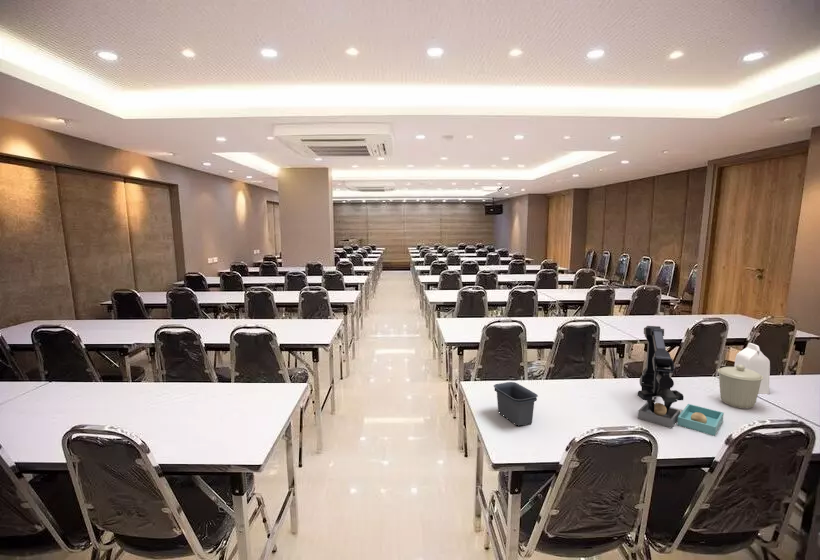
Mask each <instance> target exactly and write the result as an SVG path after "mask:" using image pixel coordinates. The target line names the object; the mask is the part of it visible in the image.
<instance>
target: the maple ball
mask: <svg viewBox="0 0 820 560" xmlns="http://www.w3.org/2000/svg"><path fill="white" fill-rule="evenodd" d="M666 412H667V409H666V407H665V406H664V404H663V403H661V402H655V404H654V414H656V415H659V416H664V415H665V414H666Z"/></svg>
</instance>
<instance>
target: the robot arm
mask: <svg viewBox="0 0 820 560" xmlns="http://www.w3.org/2000/svg"><path fill="white" fill-rule="evenodd" d="M643 334H644V337H645V339H646V341H647V351H646V365H645V366H646V367H645V368H644V369H643V370H642V372H641V373H642V374H641V375H640V377H639V386H640V387H641V390H638V391H637V396H638V398H640V399H641V400H642V401H645V402H648V404H649V407H650V409H651V412H652V413H654V403H657V402H656V400H655V399H657V398H661V399H662V401H663V403H664V404H663V405H664V406H665V407H666V409H667V412H668V410H669V408H670V407H672V404H674V403H675V402H678V401H684V400H685V399H684V394H683V393H681V392H680V391H679V390H677V389H674V390H672V389H671V388H673V387H674V385H675V382H674V379H673V378H672V376H671V377H670V373H671V374H675V373H674V372H675V369H676V368H675V364H674V363H675V362H674V360H673V358H672V357H671V354H670V353H669V352H668V351H667V350H666V344H665V340H664V337H665V328H662V327H661V326H659V325H658V326H656V325H646V327H643ZM669 367H670V368H671V369H667V368H669ZM667 412H666V413H667Z"/></svg>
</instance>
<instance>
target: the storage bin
mask: <svg viewBox="0 0 820 560" xmlns="http://www.w3.org/2000/svg"><path fill="white" fill-rule="evenodd" d="M493 388H494V392H496V400H497V412H500V413H501V414H502V415H504V416H505V417H506V418H508V419H509V420H510V421H509V420H508V419H507V420H508V421H509V422H511V421H512V422H513V423H515V424H516V425H518V426H517V427H520V426H519V425H523V426H525V425H524V424H527V425H529V424H528V423H531V424H532V423H533V416H534V408H535V402H537V400H538V398H537V397H539V396H538V394H537V393H535V392H533V391H532V390H530V389H529V388H527V387H525V386H523V385H522V384H520V383H518V382H516V381H509V382H502V383H501V382H500V383H496V384H494V385H493ZM501 414H500V415H501ZM502 415H501V416H502ZM504 416H503V417H504ZM505 417H504V418H505ZM506 418H505V419H506ZM512 422H511V423H512ZM513 423H512V424H513ZM515 424H514V425H515ZM516 425H515V426H516Z"/></svg>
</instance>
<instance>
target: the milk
mask: <svg viewBox="0 0 820 560" xmlns="http://www.w3.org/2000/svg"><path fill="white" fill-rule="evenodd" d="M739 364H740V365H743V366H744V367H745V369H749V370H752V371H755V372H757V373H759V374H760V375H762V376H763V380H761V384H760V388H759V392H758V395H770V376H771V375H770V373H771V361H770V359H769V358H768V357H767V356H766V355H764V353H763V352H762V351H761V349H760V346H759V345H757V344H756V343H752V342H748V344H747V346H746V347H745V348H743V349H741V350H740V351H739V352H737V353H736V354H735V360H734V366H733V367H736V365H739Z"/></svg>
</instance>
